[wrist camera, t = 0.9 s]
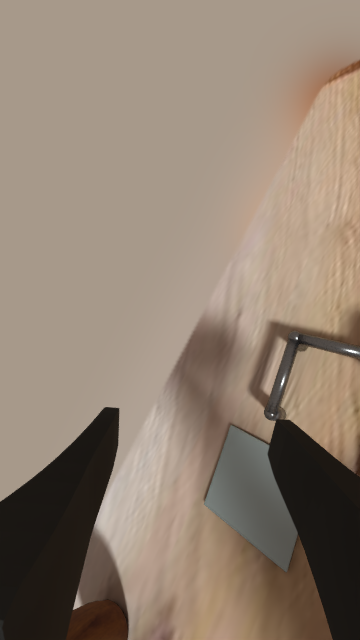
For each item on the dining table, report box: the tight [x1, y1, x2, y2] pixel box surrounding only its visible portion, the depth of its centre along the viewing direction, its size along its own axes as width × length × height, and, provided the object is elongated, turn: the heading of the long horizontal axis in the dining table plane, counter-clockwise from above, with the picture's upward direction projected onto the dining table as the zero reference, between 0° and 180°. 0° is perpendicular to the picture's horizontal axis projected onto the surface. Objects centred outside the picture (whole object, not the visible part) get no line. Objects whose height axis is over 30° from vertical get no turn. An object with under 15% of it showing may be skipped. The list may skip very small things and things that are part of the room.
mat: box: [204, 425, 298, 573], centre depth 23 cm, size 8×8×1 cm
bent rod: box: [264, 331, 360, 421], centre depth 21 cm, size 7×8×4 cm
